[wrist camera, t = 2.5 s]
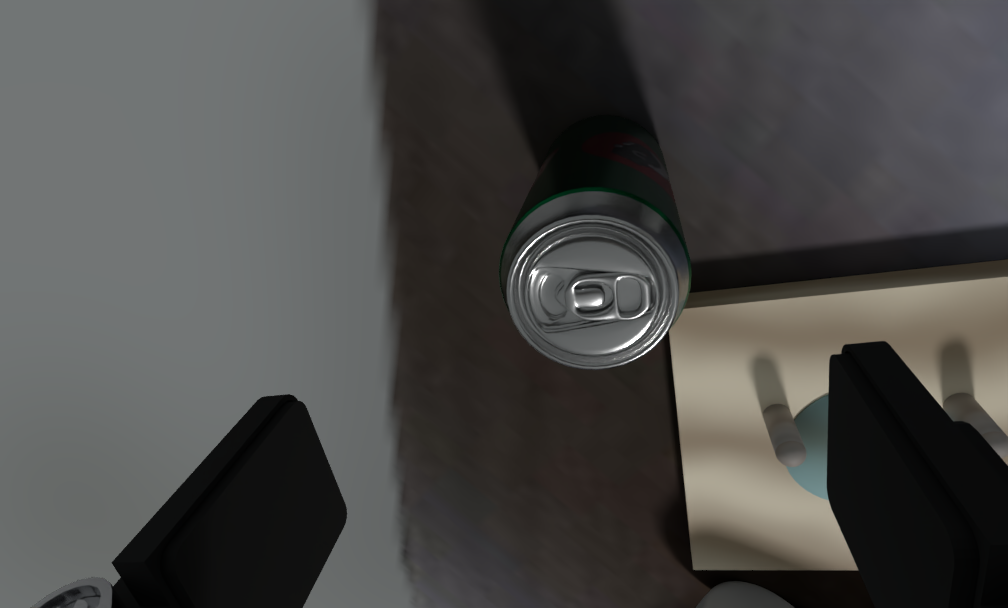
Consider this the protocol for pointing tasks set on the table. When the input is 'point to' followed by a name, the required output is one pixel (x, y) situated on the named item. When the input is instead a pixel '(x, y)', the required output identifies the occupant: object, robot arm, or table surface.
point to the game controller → (741, 597)
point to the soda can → (597, 249)
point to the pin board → (816, 397)
